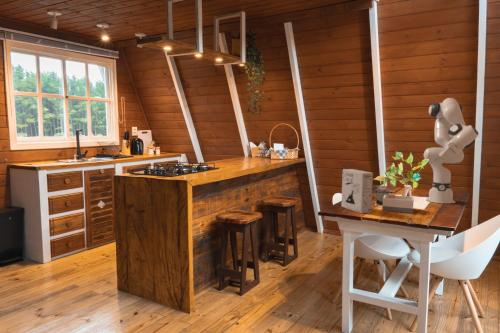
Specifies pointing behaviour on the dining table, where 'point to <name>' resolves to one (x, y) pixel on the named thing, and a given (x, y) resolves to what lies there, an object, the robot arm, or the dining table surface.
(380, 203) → the food container
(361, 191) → the cereal box
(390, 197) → the peg
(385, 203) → the socket box
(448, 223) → the dining table surface
